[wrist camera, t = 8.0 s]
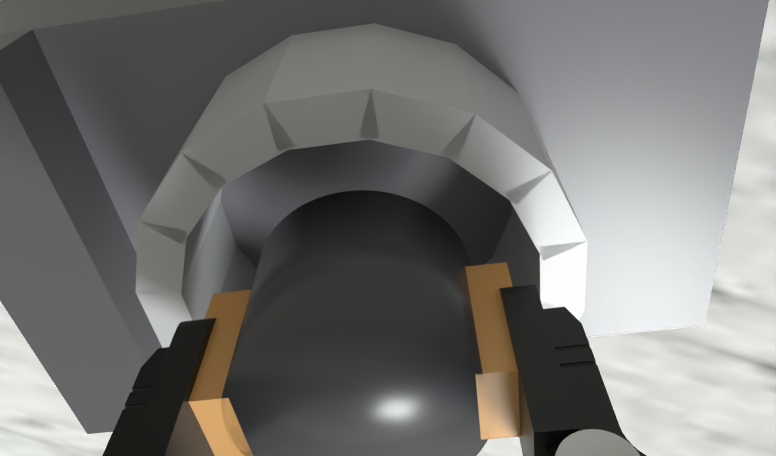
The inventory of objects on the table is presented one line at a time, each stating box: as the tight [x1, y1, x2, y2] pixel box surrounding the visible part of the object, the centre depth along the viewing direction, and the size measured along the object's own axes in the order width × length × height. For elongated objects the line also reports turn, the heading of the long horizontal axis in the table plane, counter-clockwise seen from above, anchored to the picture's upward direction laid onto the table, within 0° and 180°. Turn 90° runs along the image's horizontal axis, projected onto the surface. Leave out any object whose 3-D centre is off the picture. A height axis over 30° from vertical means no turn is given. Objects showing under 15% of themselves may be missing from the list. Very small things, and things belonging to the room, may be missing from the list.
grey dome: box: [189, 190, 520, 456], centre depth 13 cm, size 6×5×4 cm
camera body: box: [0, 0, 769, 434], centre depth 19 cm, size 20×12×11 cm, turn 98°
